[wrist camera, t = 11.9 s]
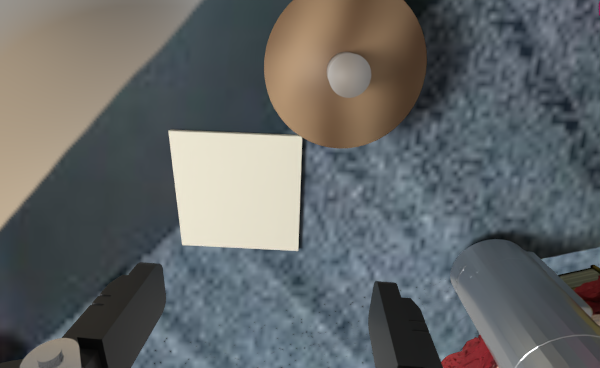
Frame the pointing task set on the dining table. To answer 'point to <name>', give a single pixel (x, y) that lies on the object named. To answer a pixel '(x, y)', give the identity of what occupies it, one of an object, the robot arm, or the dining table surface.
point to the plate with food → (476, 356)
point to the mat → (237, 188)
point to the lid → (345, 68)
